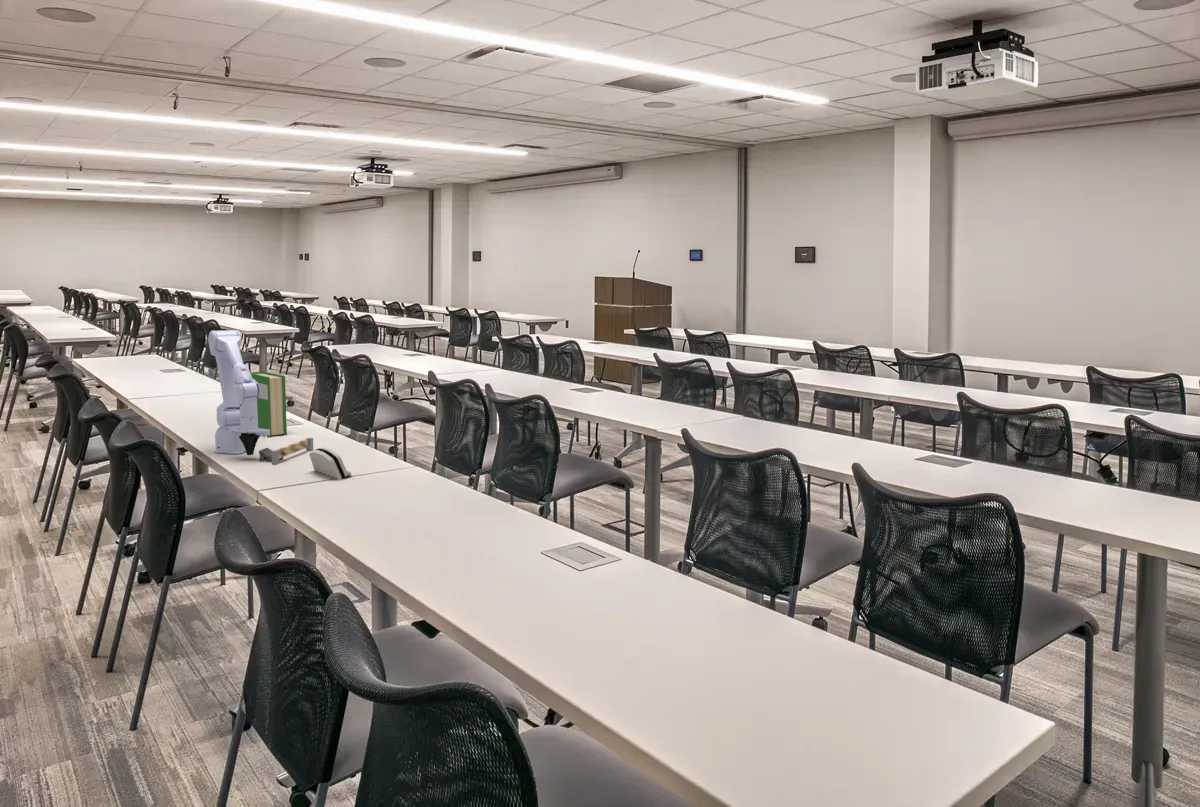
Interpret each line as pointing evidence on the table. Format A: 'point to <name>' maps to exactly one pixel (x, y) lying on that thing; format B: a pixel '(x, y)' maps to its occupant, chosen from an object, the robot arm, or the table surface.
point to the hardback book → (271, 402)
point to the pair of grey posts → (276, 454)
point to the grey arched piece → (328, 463)
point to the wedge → (266, 455)
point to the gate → (292, 448)
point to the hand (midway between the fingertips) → (250, 454)
